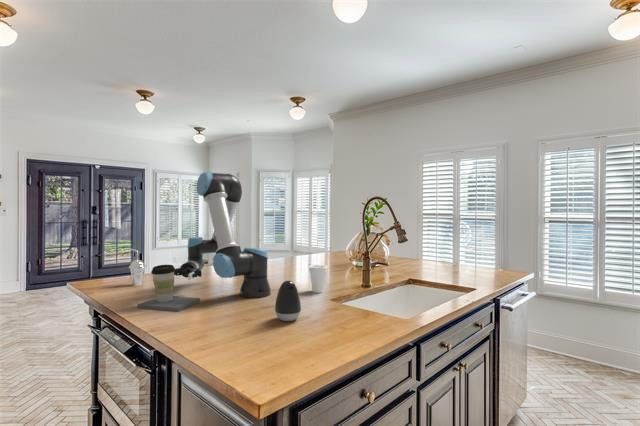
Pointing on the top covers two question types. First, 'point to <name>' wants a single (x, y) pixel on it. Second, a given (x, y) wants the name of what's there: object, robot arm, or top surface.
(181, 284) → the top surface
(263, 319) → the top surface
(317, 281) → the foam cup
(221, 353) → the top surface
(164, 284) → the coffee cup
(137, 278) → the cup with straw
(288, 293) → the black egg shaped speaker
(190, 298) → the mat
